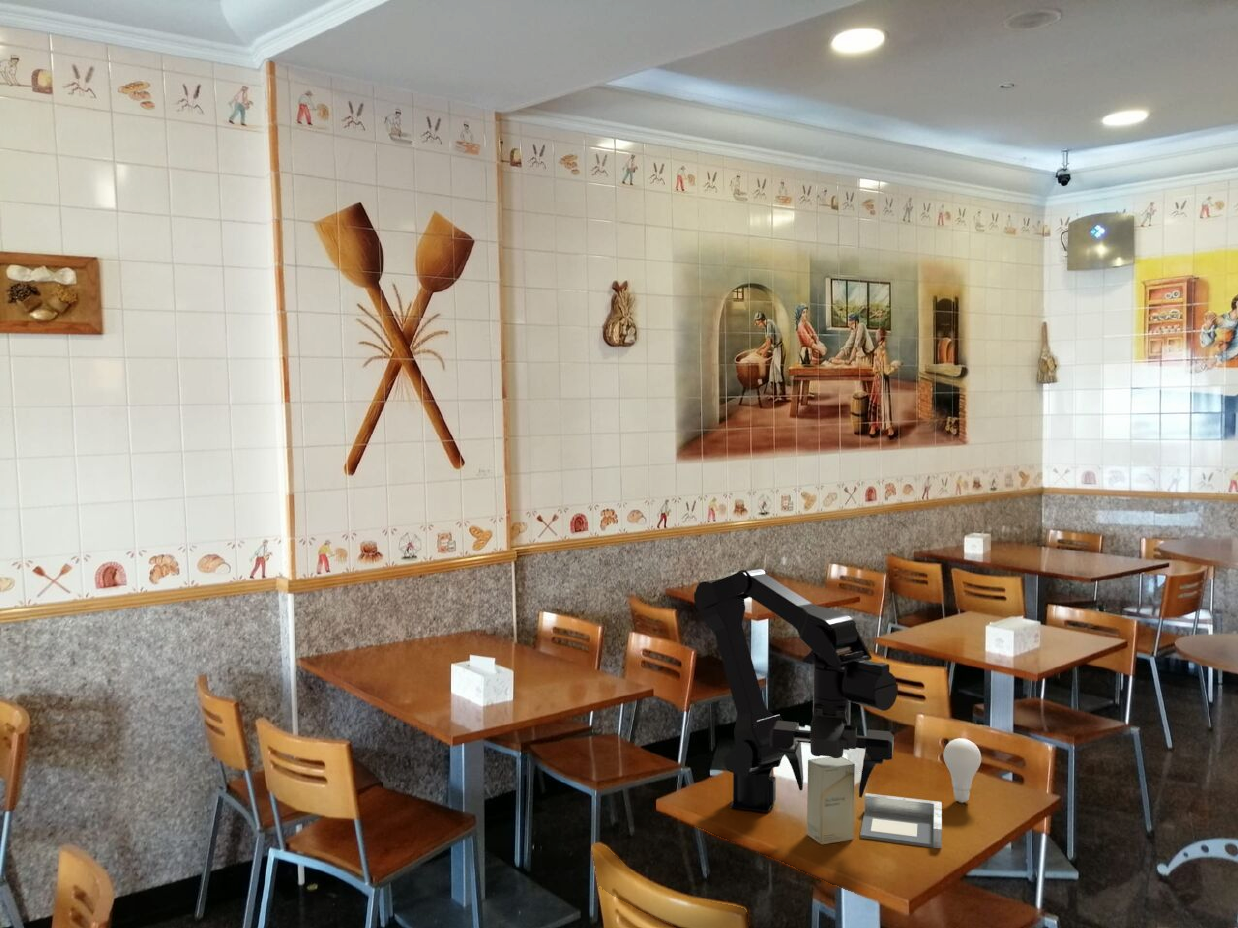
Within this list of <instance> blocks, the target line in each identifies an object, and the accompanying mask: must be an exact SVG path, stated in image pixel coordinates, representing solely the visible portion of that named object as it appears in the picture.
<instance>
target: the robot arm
mask: <svg viewBox="0 0 1238 928" xmlns="http://www.w3.org/2000/svg"><path fill="white" fill-rule="evenodd" d="M748 598H750V599H751V600H754V601H755V602H756V603H758V604H759V605H761V606H762V607H764V608H766V609H767V610H768V611H770V612H771V613H773V614H774V615H776V616H778V618H780V619H782V620H783V621H785V622H786V623H787V624H789V625H790V626H792V627H793V628H794V629H795V630H796V631H797V634H798V636H799V638H800V640H801V641H802V643H804V645H806V646H807V647H808V648H809V649H810V652H809V653H808V654H807V655H805V656H804V657H803V658H801V661H802V663H803V664H807V665H812V666H813V678H812V679H813V683H812V684H813V687H812V688H813V690H812V693H813V694H812V698H813V699H812V718H811V721H810V725H809V726H810V727H809V729H810V730H807V729H800V725H799V722H796V721H787V720H786V721H785V720H783V718H782V715H781V714H776V715H773V713H772V712H770V710H769V709H768V707H767V706H766V703H765V700H764V698H763V694H762V691H761V686H760V684H759V681H758V677H757V673H756V669H755V667H754V663H753V659H752V656H751V651H750V648H749V646H748V643H747V642H748V641H747V639H746V636H745V632H744V629H743V622H744V618H745V612H746V603H745V600H746V599H748ZM693 600H694V604H695V606H696V609H697V611H698V613H699V616H700V619H701V620H702V621H703V623H704V624H706V626H707V627H708V628H709V629H710V630H711V631H712V632H713V634H714V637H715V640H716V643H717V647H718V650H719V651H718V652H719V654H720V658H721V661H722V664H723V668H724V672H725V675H726V678H727V683H728V685H729V690H730V692H731V693H730V694H731V696H732V700H733V704H734V707H735V711H736V714H737V716H736V721H735V726H734V729H733V736H734V737H733V738H734V742H735V743H734V744H735V746H734V748H732V749H731V750H730V751H729V752H728V753H727V754H726V755H725V756H724V757H723V762H724V766H725V770H726V771H727V772H730V773H732V776H733V777H732V802H730V808H731V809H737V810H742V811H750V812H751V811H752V812H760V813H769V812H770V810H771V808H772V807H773V806H774V805H775V802H776V798H777V797H776V794H777V793H776V791H777V789H776V786H777V785H776V784H777V783H776V781H777V779H776V776H774V775H773V769H774V768H779V767H780V765H781V762H782V760H783V758H784V756H785V757H786V758H787V759H788V762H789V764H790V766H791V769H792V771H793V774H794V778H795V781H796V784H797V786H798V790H799V791H803V789H804V771H803V769H804V768H803V756H802V743H804V744H805V743H806V744H809V745H810V748H809V749H810V753H811V756H815V757H820V756H823V757H832V758H840V757H844V751H846V750H847V751H850V750H856V749H862V750H863V749H864V755H863V759H862V767H861V775H860V780H859V787H858V797H859V798H863V795H864V792H865V789H866V787H867V783H868V780H869V778H870V775H871V774H872V772H873V770H874V768H875V766H876V765H881V764H884V762H885V761H884V760H886V761H890V760H892V759H893V752H894V734H892V733H891V731H888V730H879V729H878V730H877V729H867V733H866V735H860V734H859V735H858V729H857V725H855V724H851V703H854V704H858V705H862V706H865V707H867V708H872V709H875V710H879V711H883V712H886V711H888V710H889V709H891V708H892V707H893V705H894V704H895V702H896V700H897V697H898V692H899V684H898V683H897V680H896V677H895V675H894V674H893V673H891V672H890V664H889V663H885V662H875V661H871V660H872V655H871V653H870V652H869V650H868V647H867V646H866V644H865V642H864V640H863V638H862V637H861V634H860V633H859V631H858V629H857V626H856V624H857V623H856V621H855V620H854V619H853V618H852V617H851V616H849V615H848V614H846V613H843V612H840V611H838V610H836V609H833V608H829V607H824V606H819V605H816V604H815V603H814V604H813V603H812V602H811V601H809V600H807V599H806V598H804V597H803V596H801V595H799V594H798V593H796V592H794V591H793V590H791V589H790V588H788V587H786V586H785V585H783V584H782V583H781V582H779V581H777V580H776V579H775V578H773V577H771V576H770V575H768V574H767V573H766V572H765V571H764V569H762V568H759V567H754V568H747V569H740V570H738V571H737V572H735V573H733V574H731V575H728V576H725V577H723V578H718V579H710V580H704V581H701V582H700V583H698V585H697V586H696V587H695V591H694V592H693ZM845 651H848V652H845ZM849 651H850V652H849ZM842 652H845V653H842ZM838 653H841V654H838Z"/></svg>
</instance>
